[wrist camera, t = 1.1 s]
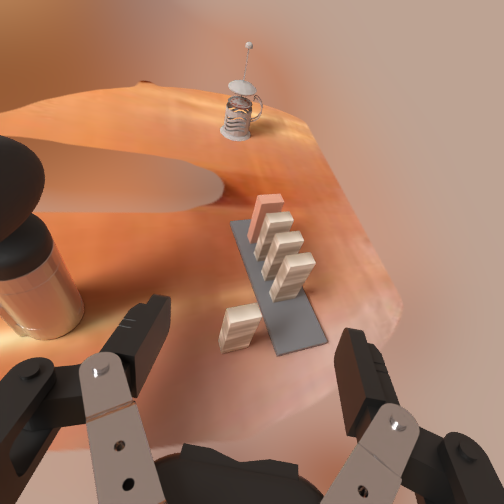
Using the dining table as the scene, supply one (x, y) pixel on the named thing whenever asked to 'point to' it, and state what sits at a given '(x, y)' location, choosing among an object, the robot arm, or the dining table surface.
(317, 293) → the dining table surface
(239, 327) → the domino
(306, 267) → the domino
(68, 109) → the dining table surface
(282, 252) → the domino
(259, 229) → the end domino
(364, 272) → the dining table surface
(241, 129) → the french press
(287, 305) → the domino board
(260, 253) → the domino
